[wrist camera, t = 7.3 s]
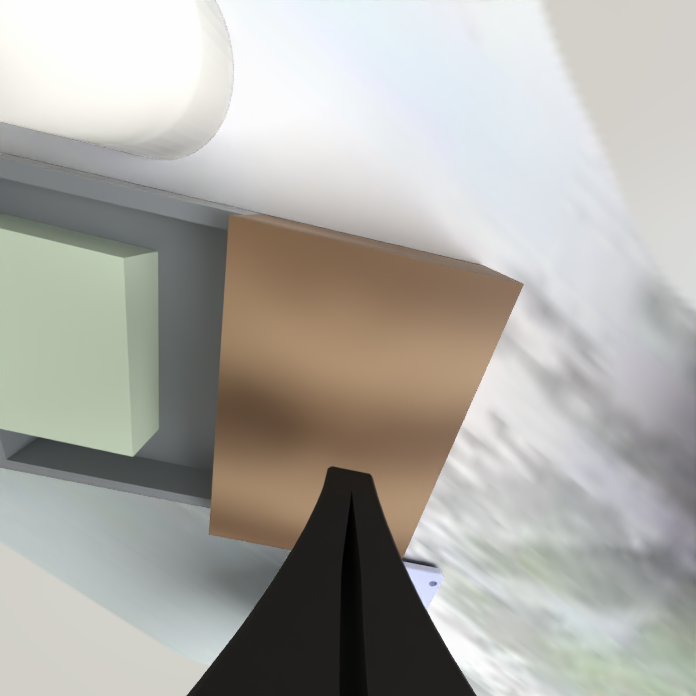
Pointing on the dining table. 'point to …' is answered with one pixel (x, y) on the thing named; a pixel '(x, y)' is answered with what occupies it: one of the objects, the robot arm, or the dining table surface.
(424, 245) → the dining table surface
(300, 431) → the wooden block
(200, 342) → the tray
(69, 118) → the white cylinder
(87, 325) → the tile
